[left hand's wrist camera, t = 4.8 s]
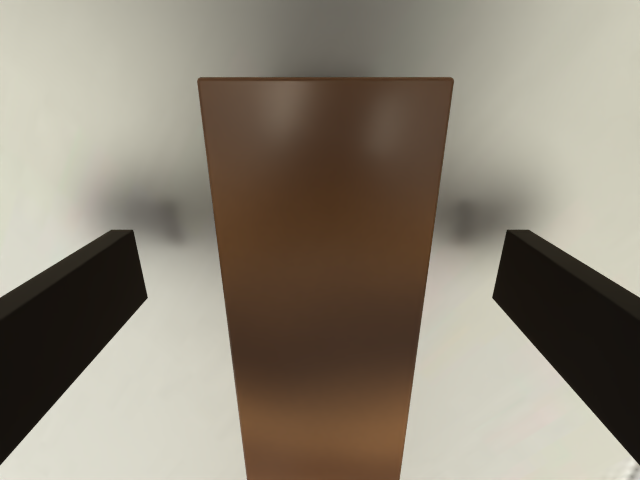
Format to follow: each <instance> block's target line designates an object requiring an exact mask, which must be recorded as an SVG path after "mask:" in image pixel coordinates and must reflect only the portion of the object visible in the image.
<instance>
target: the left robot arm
mask: <svg viewBox="0 0 640 480" xmlns="http://www.w3.org/2000/svg"><path fill="white" fill-rule="evenodd" d="M147 298H148V297H147V292H146V288H145V283H144V278H143V274H142V269H141V264H140V260H139V255H138V250H137V246H136V241H135V236H134V232H133V230H110V231H109V232H107V233H105V234H104V235H102V236H100V237H99V238H97V239H95V240H94V241H92V242H91V243H89V244H87V245H86V246H84V247H82V248H81V249H79V250H77V251H76V252H74V253H73V254H71V255H69V256H68V257H66V258H64V259H63V260H61V261H59V262H58V263H56V264H55V265H53V266H51V267H50V268H48V269H46V270H45V271H43V272H41V273H40V274H38V275H37V276H35V277H33V278H32V279H30V280H28V281H27V282H25V283H23V284H22V285H20V286H19V287H17V288H15V289H14V290H12V291H10V292H9V293H7V294H5V295H4V296H2V297H1V298H0V465H1V464H2V463H3V461H4V460H5V459H6V458H7V457H8V456H9V455H10V454H11V452H12V451H13V450H14V449H15V448H16V447H17V446H18V444H19V443H20V442H21V441H22V440H23V439H24V438H25V437H26V435H27V434H28V433H29V432H30V431H31V430H32V429H33V427H34V426H35V425H36V424H37V423H38V422H39V421H40V420H41V418H42V417H43V416H44V415H45V414H46V413H47V412H48V410H49V409H50V408H51V407H52V406H53V405H54V404H55V402H56V401H57V400H58V399H59V398H60V397H61V396H62V395H63V393H64V392H65V391H66V390H67V389H68V388H69V387H70V385H71V384H72V383H73V382H74V381H75V380H76V379H77V378H78V376H79V375H80V374H81V373H82V372H83V371H84V370H85V368H86V367H87V366H88V365H89V364H90V363H91V362H92V360H93V359H94V358H95V357H96V356H97V355H98V354H99V353H100V351H101V350H102V349H103V348H104V347H105V346H106V345H107V343H108V342H109V341H110V340H111V339H112V338H113V337H114V336H115V334H116V333H117V332H118V331H119V330H120V329H121V328H122V326H123V325H124V324H125V323H126V322H127V321H128V320H129V319H130V317H131V316H132V315H133V314H134V313H135V312H136V311H137V309H138V308H139V307H140V306H141V305H142V304H143V303H144V301H145V300H146V299H147ZM492 298H493V299H494V300H495V301H496V303H497V304H498V305H499V306H500V307H501V308H502V309H503V311H504V312H505V313H506V314H507V315H508V316H509V317H510V319H511V320H512V321H513V322H514V323H515V324H516V325H517V326H518V328H519V329H520V330H521V331H522V332H523V333H524V334H525V336H526V337H527V338H528V339H529V340H530V341H531V342H532V343H533V345H534V346H535V347H536V348H537V349H538V350H539V351H540V353H541V354H542V355H543V356H544V357H545V358H546V359H547V360H548V362H549V363H550V364H551V365H552V366H553V367H554V368H555V370H556V371H557V372H558V373H559V374H560V375H561V376H562V378H563V379H564V380H565V381H566V382H567V383H568V384H569V385H570V387H571V388H572V389H573V390H574V391H575V392H576V393H577V395H578V396H579V397H580V398H581V399H582V400H583V401H584V402H585V404H586V405H587V406H588V407H589V408H590V409H591V410H592V412H593V413H594V414H595V415H596V416H597V417H598V418H599V420H600V421H601V422H602V423H603V424H604V425H605V426H606V427H607V429H608V430H609V431H610V432H611V433H612V434H613V435H614V437H615V438H616V439H617V440H618V441H619V442H620V443H621V444H622V446H623V447H624V448H625V449H626V450H627V451H628V452H629V454H630V455H631V456H632V457H633V458H634V459H635V460H636V461H637V463H638V464H639V465H640V298H639V297H638V296H636V295H635V294H633V293H631V292H630V291H628V290H626V289H625V288H623V287H621V286H620V285H618V284H617V283H615V282H613V281H612V280H610V279H608V278H607V277H605V276H603V275H602V274H600V273H599V272H597V271H595V270H594V269H592V268H590V267H589V266H587V265H585V264H584V263H582V262H581V261H579V260H577V259H576V258H574V257H572V256H571V255H569V254H567V253H566V252H564V251H563V250H561V249H559V248H558V247H556V246H554V245H553V244H551V243H549V242H548V241H546V240H545V239H543V238H541V237H540V236H538V235H536V234H535V233H533V232H531V231H530V230H507V232H506V236H505V241H504V246H503V250H502V255H501V260H500V264H499V269H498V274H497V278H496V283H495V288H494V292H493V297H492Z"/></svg>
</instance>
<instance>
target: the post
mask: <svg viewBox="0 0 640 480" xmlns="http://www.w3.org/2000/svg"><path fill="white" fill-rule="evenodd" d="M197 84H198V92H199V100H200V108H201V116H202V124H203V131H204V139H205V147H206V155H207V163H208V171H209V179H210V187H211V195H212V203H213V211H214V219H215V227H216V235H217V243H218V251H219V259H220V267H221V275H222V283H223V291H224V299H225V307H226V315H227V323H228V331H229V339H230V347H231V355H232V363H233V371H234V379H235V387H236V395H237V403H238V411H239V419H240V427H241V435H242V443H243V451H244V459H245V467H246V475H247V480H399V479H400V472H401V465H402V457H403V450H404V443H405V435H406V428H407V421H408V413H409V406H410V399H411V391H412V384H413V377H414V370H415V362H416V355H417V348H418V340H419V333H420V326H421V318H422V311H423V304H424V296H425V289H426V282H427V274H428V267H429V260H430V252H431V245H432V238H433V230H434V223H435V216H436V208H437V201H438V194H439V186H440V179H441V172H442V164H443V157H444V150H445V142H446V135H447V128H448V120H449V113H450V106H451V99H452V91H453V84H454V80H453V78H451V77H200V78H198V80H197Z"/></svg>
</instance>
